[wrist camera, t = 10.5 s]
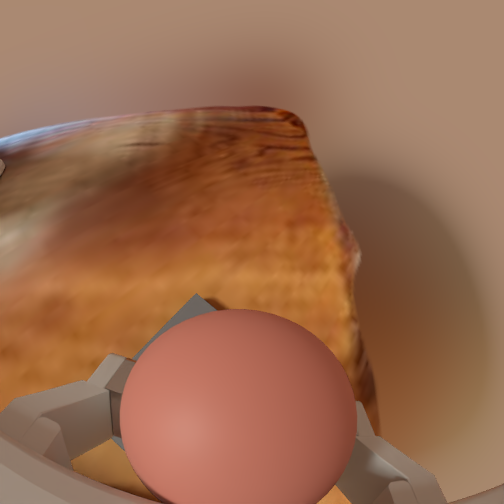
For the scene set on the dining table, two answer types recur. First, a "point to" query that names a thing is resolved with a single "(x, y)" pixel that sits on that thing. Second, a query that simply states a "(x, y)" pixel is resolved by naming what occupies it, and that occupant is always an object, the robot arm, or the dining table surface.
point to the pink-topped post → (238, 412)
